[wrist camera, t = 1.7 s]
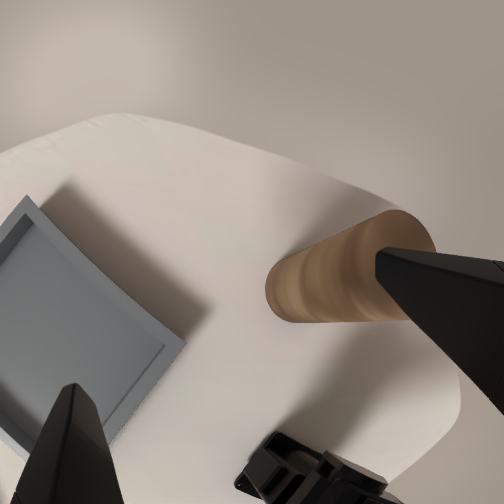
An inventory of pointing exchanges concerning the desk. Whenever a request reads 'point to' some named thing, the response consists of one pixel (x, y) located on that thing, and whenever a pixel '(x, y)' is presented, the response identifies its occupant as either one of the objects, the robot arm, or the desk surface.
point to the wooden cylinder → (344, 273)
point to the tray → (68, 332)
